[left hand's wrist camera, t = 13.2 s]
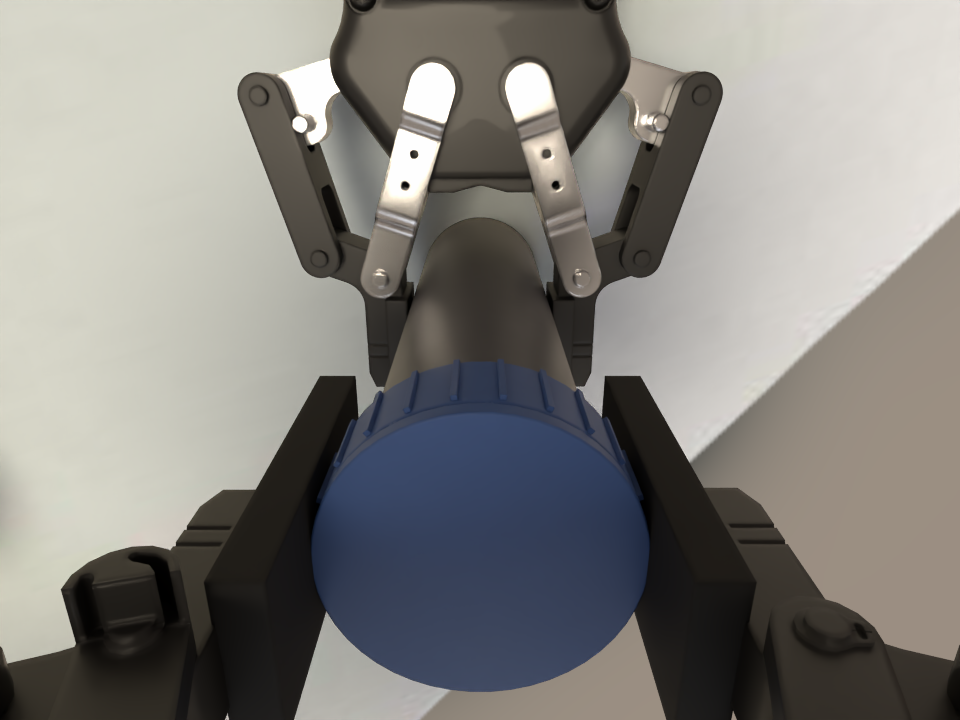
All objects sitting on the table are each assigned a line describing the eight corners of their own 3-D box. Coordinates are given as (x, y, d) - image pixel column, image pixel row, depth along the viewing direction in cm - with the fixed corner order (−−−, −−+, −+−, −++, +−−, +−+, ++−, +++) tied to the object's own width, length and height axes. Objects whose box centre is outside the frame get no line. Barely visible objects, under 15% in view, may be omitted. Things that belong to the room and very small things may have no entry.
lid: (666, 386, 12) (702, 443, 10) (587, 629, 14) (604, 717, 12) (352, 328, 11) (326, 376, 9) (317, 587, 13) (289, 670, 11)
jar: (546, 229, 27) (654, 450, 10) (522, 334, 29) (581, 672, 12) (435, 207, 27) (359, 398, 10) (416, 314, 29) (325, 633, 12)
